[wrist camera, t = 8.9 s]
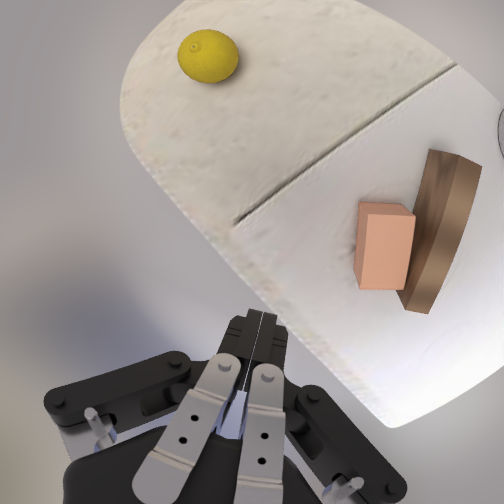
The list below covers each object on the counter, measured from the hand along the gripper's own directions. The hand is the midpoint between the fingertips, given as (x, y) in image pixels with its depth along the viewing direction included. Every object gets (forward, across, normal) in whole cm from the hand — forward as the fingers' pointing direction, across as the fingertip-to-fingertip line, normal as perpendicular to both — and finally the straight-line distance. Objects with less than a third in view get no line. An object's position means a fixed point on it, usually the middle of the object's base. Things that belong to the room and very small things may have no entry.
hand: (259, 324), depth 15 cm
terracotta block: (+19, -11, 0) cm, 22 cm away
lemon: (+19, +10, -16) cm, 27 cm away
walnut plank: (+19, -16, -4) cm, 25 cm away
